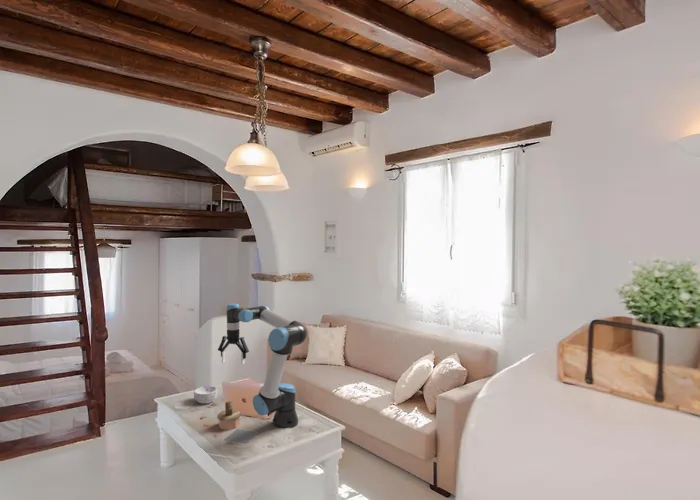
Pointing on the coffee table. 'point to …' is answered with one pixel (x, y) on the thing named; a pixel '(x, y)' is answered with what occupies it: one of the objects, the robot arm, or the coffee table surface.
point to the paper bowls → (205, 394)
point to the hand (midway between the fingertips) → (233, 362)
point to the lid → (228, 413)
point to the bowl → (229, 424)
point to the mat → (241, 436)
